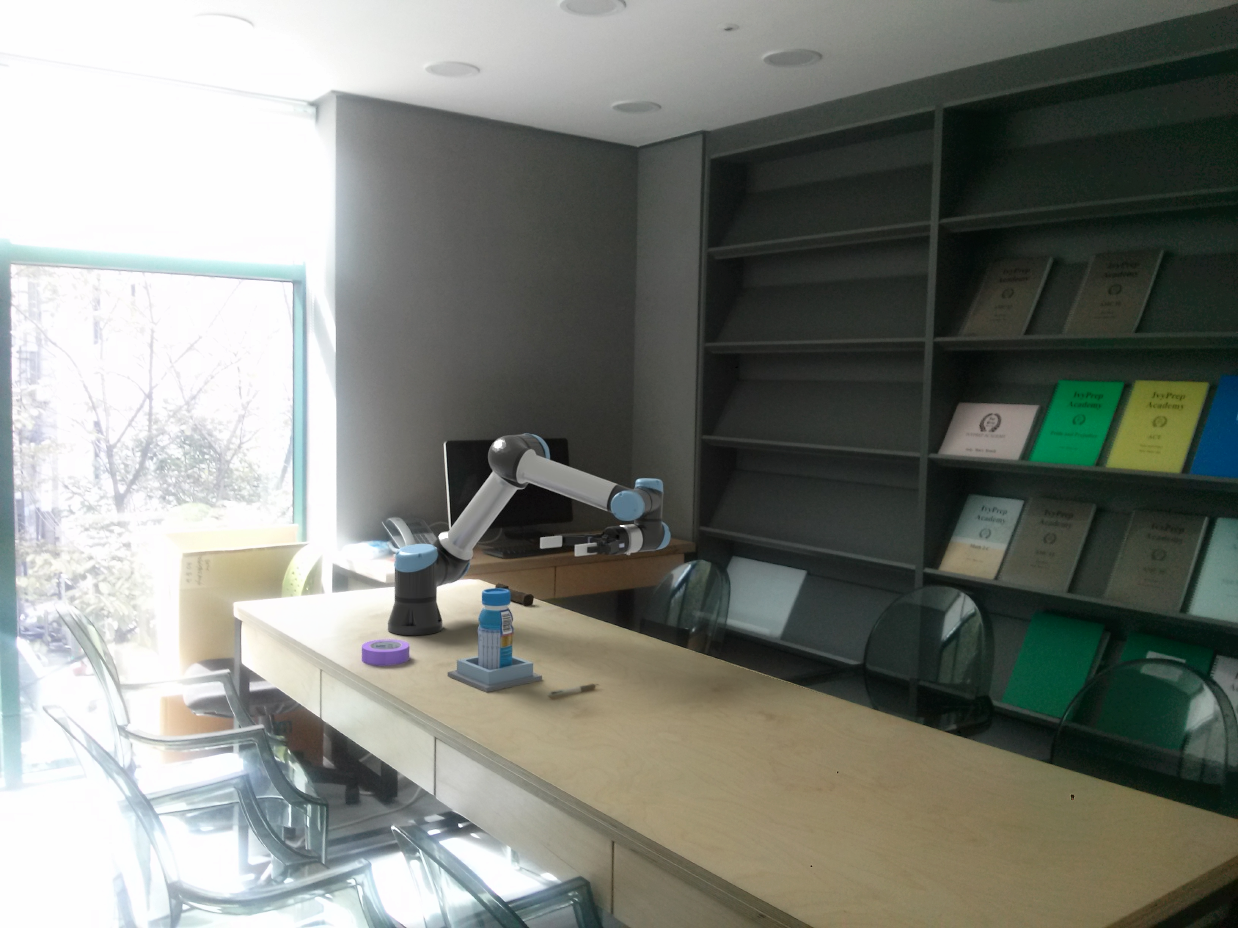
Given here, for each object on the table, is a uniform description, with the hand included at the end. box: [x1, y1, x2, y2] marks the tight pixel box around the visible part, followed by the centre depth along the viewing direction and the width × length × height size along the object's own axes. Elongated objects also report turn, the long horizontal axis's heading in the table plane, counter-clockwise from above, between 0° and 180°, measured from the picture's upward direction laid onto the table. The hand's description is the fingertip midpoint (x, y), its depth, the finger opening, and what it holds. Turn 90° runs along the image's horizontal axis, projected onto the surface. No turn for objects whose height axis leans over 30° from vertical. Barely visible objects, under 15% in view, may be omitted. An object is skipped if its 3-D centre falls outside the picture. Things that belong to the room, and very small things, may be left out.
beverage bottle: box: [477, 587, 515, 670], centre depth 240 cm, size 8×8×20 cm
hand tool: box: [494, 582, 535, 607], centre depth 328 cm, size 19×4×5 cm, turn 39°
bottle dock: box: [447, 655, 543, 693], centre depth 241 cm, size 16×16×4 cm
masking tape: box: [361, 638, 410, 666], centre depth 255 cm, size 12×12×4 cm
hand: (557, 546), depth 251 cm, fingers open, 13 cm apart
